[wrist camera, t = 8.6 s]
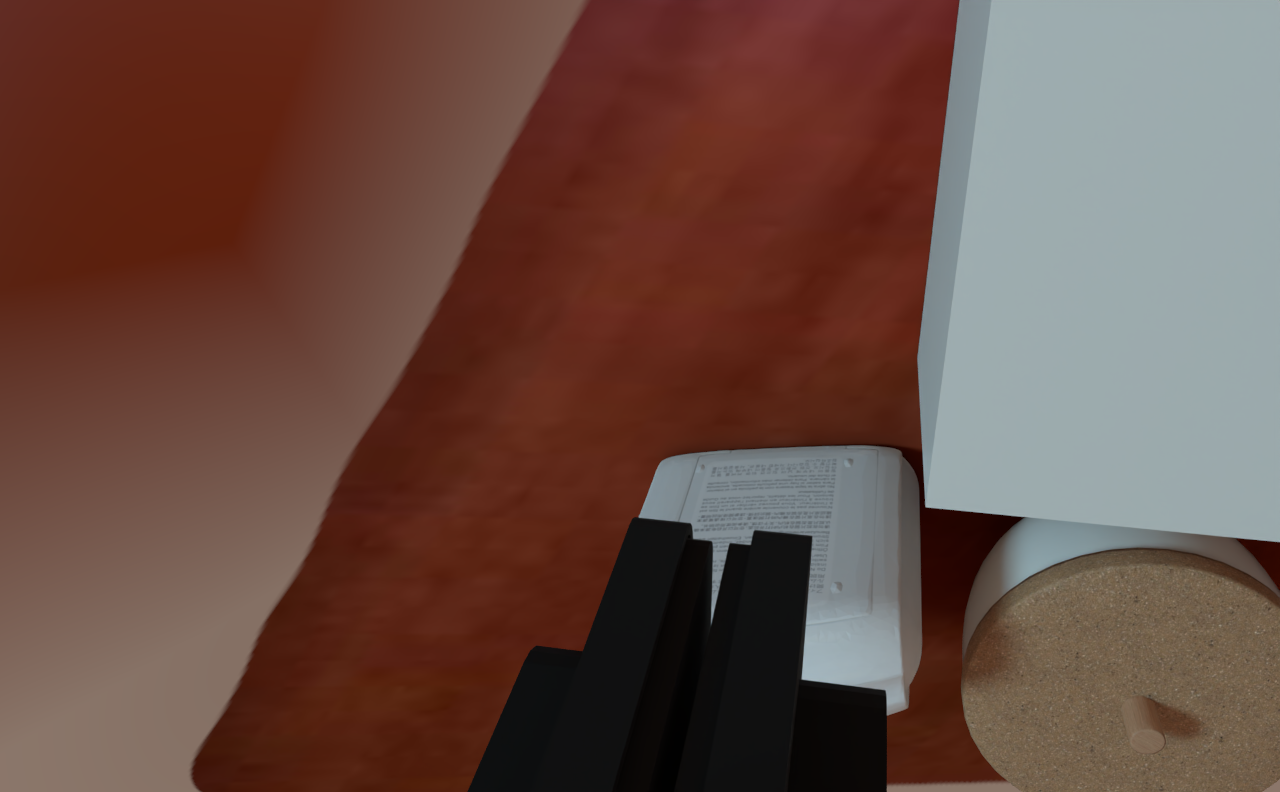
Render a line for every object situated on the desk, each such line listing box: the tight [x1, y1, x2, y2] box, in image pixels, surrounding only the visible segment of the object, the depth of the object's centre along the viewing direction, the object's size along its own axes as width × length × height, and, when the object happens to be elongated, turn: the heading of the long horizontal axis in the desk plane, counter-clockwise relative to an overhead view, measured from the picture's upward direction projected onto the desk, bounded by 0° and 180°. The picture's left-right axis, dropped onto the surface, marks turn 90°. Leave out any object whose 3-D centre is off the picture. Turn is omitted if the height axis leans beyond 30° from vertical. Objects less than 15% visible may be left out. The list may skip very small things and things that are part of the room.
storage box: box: [918, 0, 1280, 542], centre depth 31 cm, size 10×16×10 cm, turn 0°
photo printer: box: [639, 445, 922, 715], centre depth 38 cm, size 10×4×12 cm, turn 100°
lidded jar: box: [961, 517, 1280, 792], centre depth 38 cm, size 11×11×9 cm
